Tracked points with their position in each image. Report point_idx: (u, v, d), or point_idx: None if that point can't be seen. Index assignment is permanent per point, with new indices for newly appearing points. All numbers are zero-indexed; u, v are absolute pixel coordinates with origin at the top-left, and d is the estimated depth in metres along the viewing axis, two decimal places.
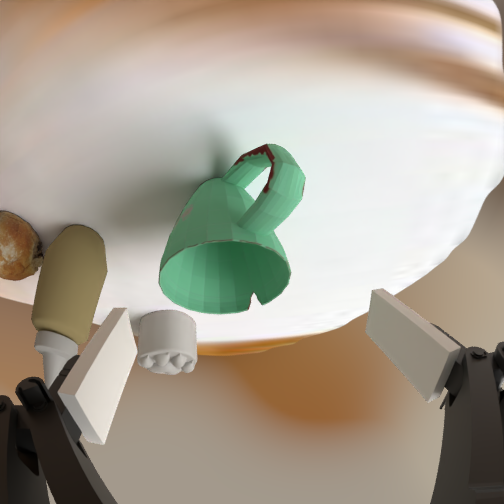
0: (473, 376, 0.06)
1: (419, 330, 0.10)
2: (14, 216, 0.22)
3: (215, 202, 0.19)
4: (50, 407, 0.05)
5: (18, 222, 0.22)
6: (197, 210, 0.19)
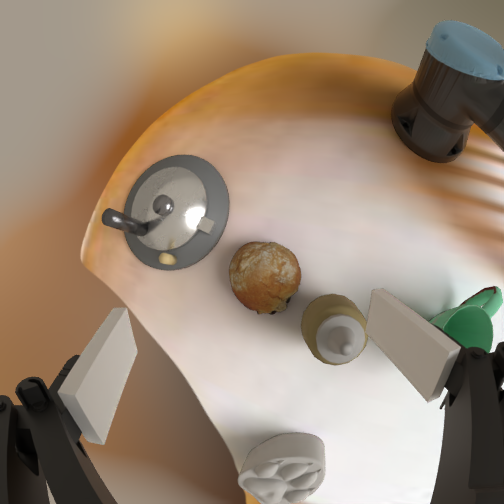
0: (473, 376, 0.06)
1: (419, 330, 0.10)
2: None
3: None
4: (50, 407, 0.05)
5: (298, 266, 0.38)
6: None
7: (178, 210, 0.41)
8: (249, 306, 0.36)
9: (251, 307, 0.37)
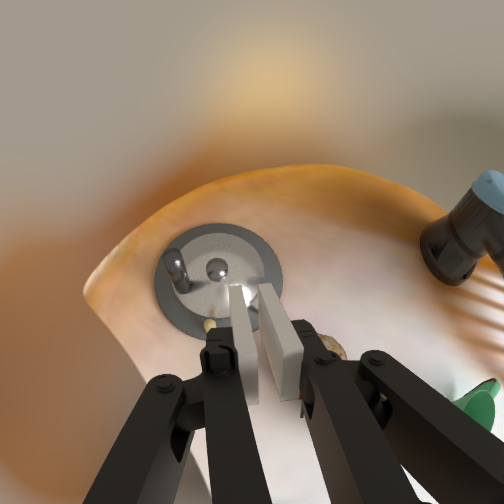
0: (325, 388, 0.07)
1: (272, 324, 0.11)
2: None
3: None
4: (233, 375, 0.08)
5: None
6: None
7: (232, 280, 0.40)
8: None
9: None
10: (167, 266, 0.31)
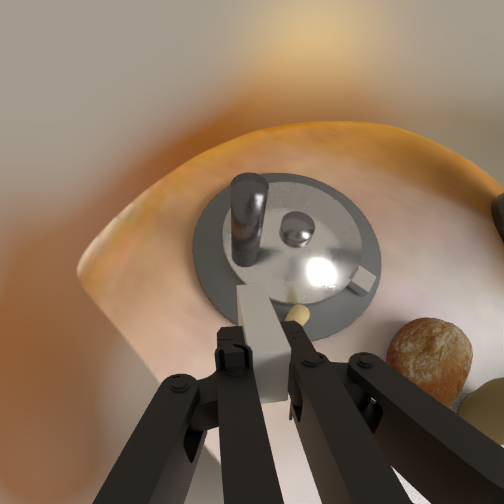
0: (313, 391, 0.07)
1: None
2: None
3: None
4: (247, 374, 0.08)
5: None
6: None
7: (319, 245, 0.26)
8: None
9: None
10: (241, 202, 0.17)
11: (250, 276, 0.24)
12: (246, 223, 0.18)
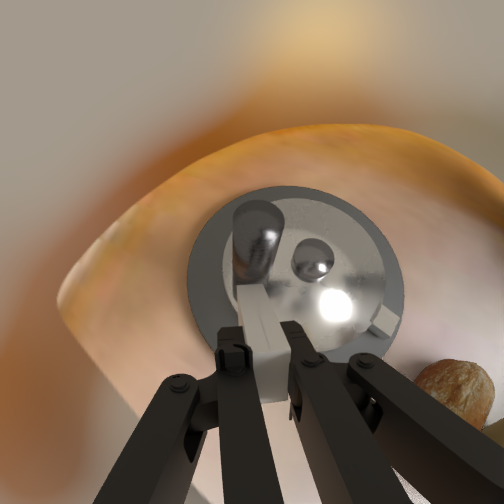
0: (313, 391, 0.07)
1: None
2: None
3: None
4: (247, 374, 0.08)
5: None
6: None
7: (337, 280, 0.21)
8: None
9: None
10: (247, 244, 0.12)
11: None
12: (252, 266, 0.14)
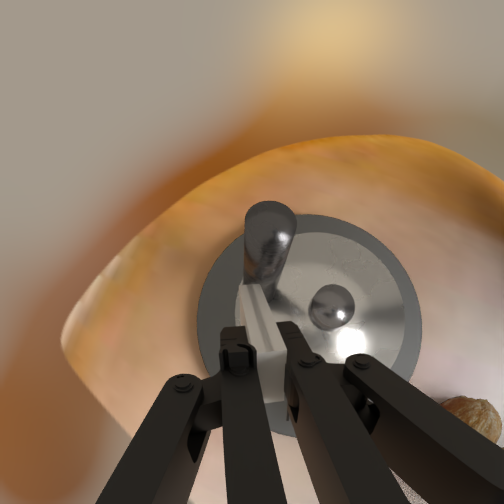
0: (309, 391, 0.07)
1: None
2: None
3: None
4: (251, 374, 0.08)
5: None
6: None
7: (339, 342, 0.19)
8: None
9: None
10: (246, 233, 0.13)
11: None
12: (249, 260, 0.14)
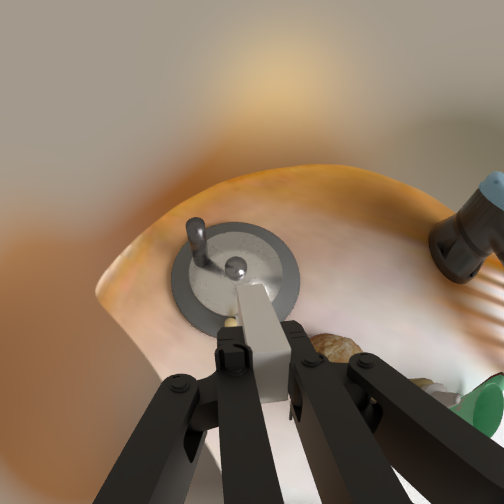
0: (313, 391, 0.07)
1: None
2: None
3: None
4: (247, 374, 0.08)
5: None
6: None
7: None
8: None
9: None
10: (186, 229, 0.33)
11: (193, 270, 0.40)
12: (189, 240, 0.35)
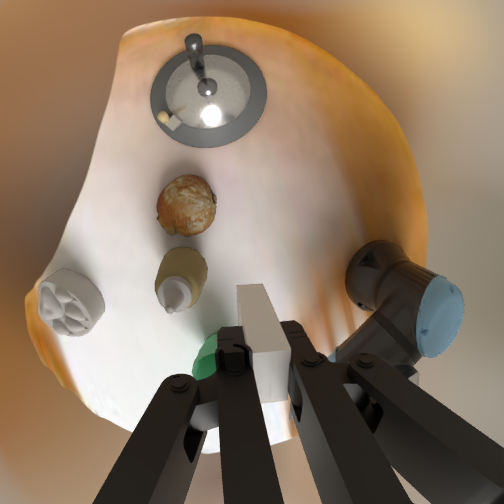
0: (313, 391, 0.07)
1: None
2: None
3: None
4: (247, 374, 0.08)
5: None
6: None
7: (197, 100, 0.38)
8: (158, 210, 0.42)
9: (158, 211, 0.42)
10: None
11: (184, 65, 0.36)
12: None
